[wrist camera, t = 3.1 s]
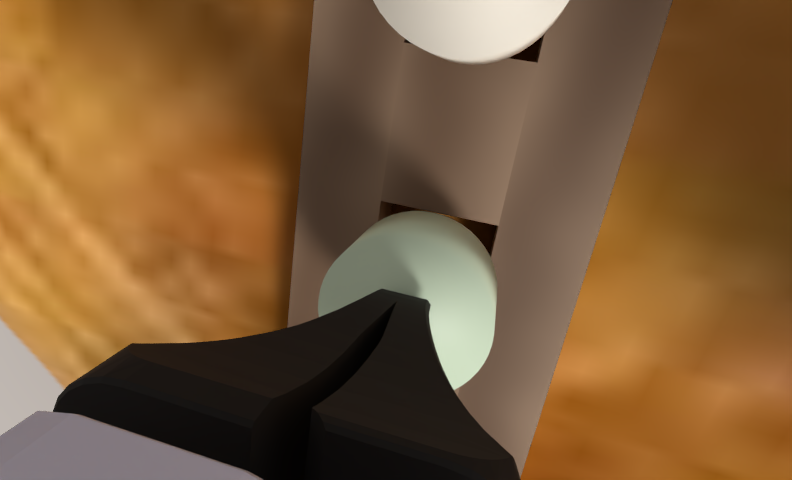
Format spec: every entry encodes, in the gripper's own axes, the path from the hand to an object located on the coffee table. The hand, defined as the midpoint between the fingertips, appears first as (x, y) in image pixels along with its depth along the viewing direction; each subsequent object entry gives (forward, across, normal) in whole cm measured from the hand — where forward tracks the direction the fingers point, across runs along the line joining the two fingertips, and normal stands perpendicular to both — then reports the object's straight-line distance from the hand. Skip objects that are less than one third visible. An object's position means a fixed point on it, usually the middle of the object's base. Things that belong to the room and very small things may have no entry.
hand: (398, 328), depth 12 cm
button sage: (+5, 0, 0) cm, 5 cm away
